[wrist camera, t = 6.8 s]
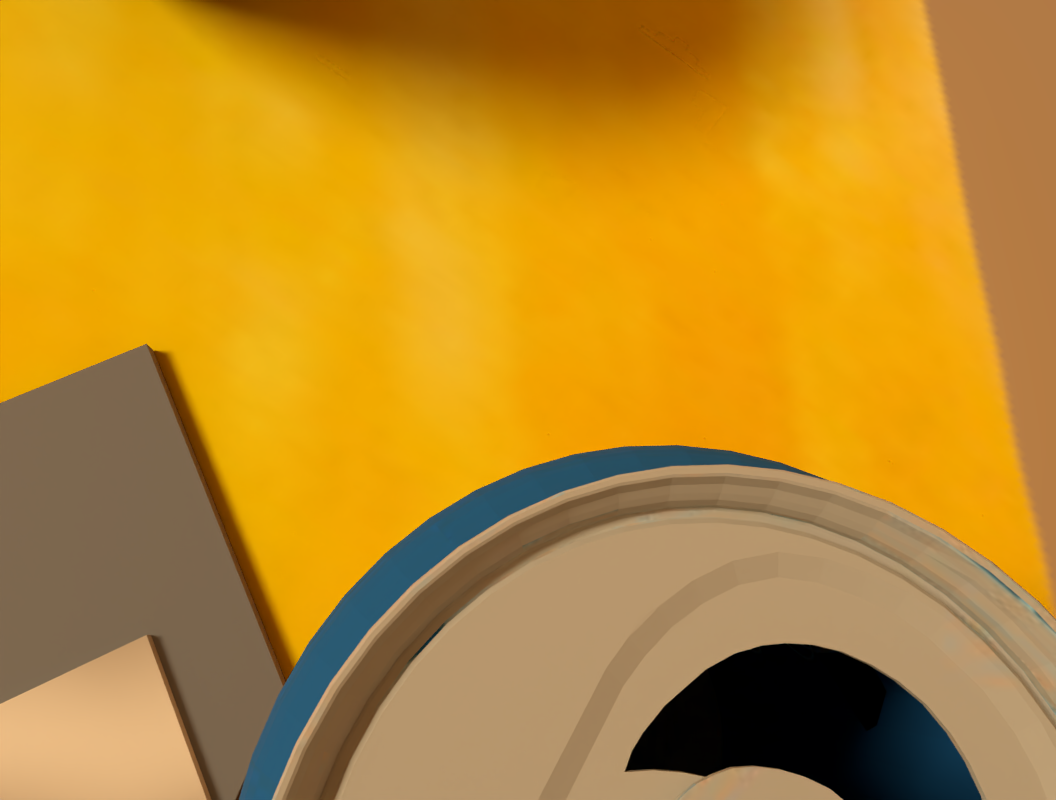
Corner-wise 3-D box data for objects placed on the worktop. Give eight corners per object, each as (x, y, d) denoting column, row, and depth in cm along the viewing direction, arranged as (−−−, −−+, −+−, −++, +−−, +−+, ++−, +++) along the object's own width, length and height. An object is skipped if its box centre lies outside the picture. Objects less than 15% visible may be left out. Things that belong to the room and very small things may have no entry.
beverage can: (776, 735, 16) (1520, 964, 5) (543, 1004, 15) (812, 2318, 3) (552, 499, 17) (715, 216, 6) (311, 726, 16) (-120, 959, 4)
